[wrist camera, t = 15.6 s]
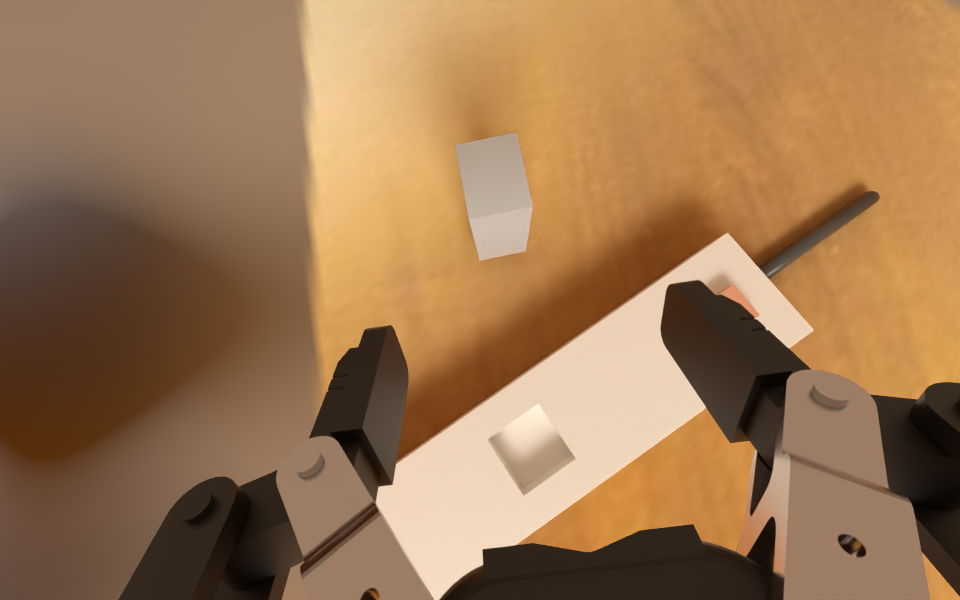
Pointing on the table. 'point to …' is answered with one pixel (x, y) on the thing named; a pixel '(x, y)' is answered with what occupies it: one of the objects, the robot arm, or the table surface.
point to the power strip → (572, 417)
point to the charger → (496, 194)
